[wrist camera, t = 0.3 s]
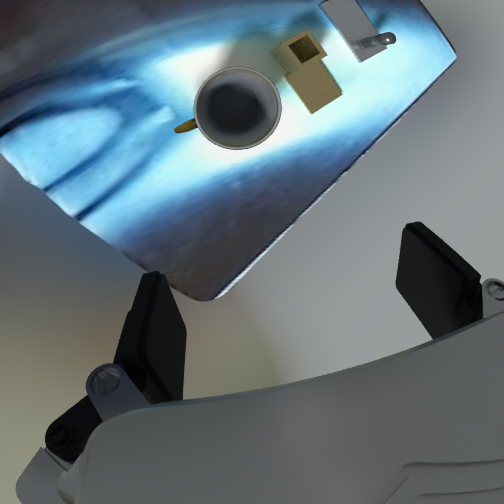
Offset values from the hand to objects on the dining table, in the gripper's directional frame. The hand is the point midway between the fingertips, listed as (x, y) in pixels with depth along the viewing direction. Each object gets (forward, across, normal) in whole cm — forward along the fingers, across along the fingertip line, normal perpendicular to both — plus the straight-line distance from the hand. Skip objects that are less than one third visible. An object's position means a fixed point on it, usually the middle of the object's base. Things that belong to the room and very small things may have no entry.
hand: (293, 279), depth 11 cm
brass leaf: (+35, -12, -9) cm, 38 cm away
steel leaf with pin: (+35, -21, -17) cm, 44 cm away
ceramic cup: (+36, +1, -5) cm, 36 cm away
